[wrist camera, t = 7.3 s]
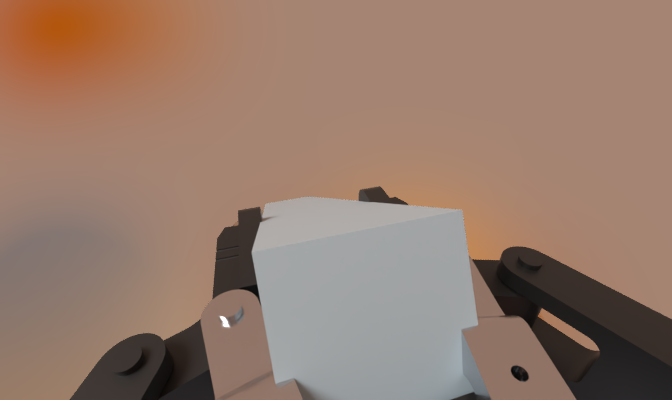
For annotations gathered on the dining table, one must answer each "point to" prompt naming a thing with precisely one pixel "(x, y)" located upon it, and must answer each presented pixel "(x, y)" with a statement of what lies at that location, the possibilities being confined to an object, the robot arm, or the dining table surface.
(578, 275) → the robot arm
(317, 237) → the bar
